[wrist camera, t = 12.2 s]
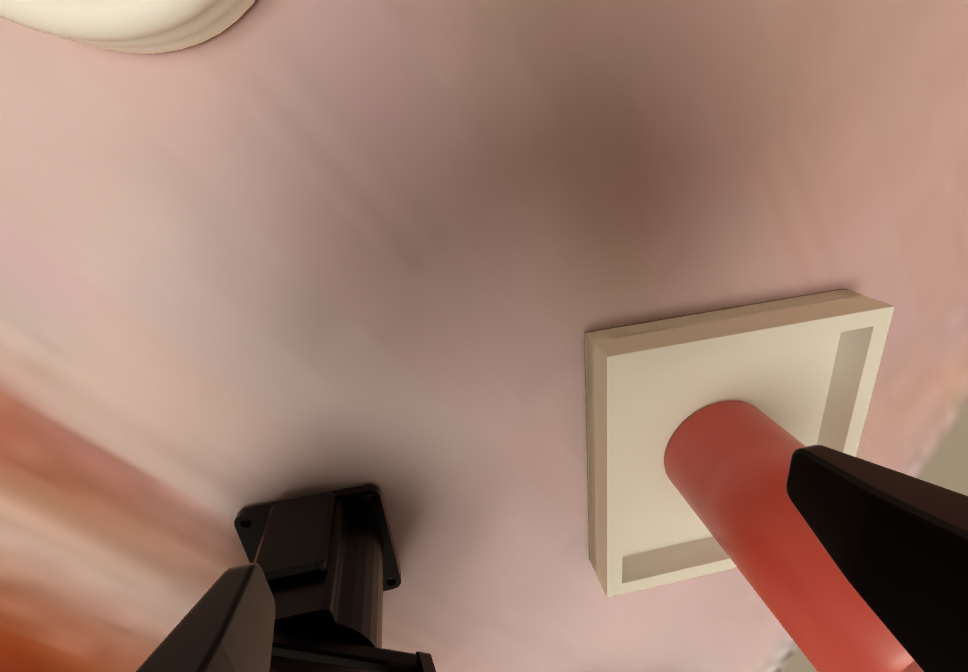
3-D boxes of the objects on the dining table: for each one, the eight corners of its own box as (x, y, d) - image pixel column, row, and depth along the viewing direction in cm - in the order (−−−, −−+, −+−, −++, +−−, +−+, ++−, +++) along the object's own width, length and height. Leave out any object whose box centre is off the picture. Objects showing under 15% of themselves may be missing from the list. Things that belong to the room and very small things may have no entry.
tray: (798, 511, 29) (832, 544, 27) (589, 559, 27) (607, 598, 25) (845, 288, 23) (894, 306, 21) (584, 333, 22) (606, 357, 19)
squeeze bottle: (750, 488, 26) (1119, 869, 13) (654, 496, 25) (948, 919, 12) (782, 398, 24) (1269, 746, 11) (678, 403, 23) (1075, 795, 10)
